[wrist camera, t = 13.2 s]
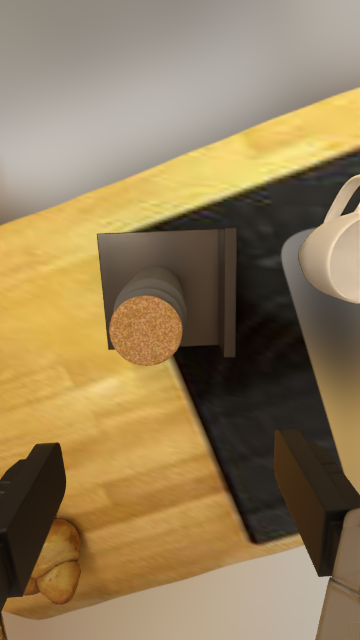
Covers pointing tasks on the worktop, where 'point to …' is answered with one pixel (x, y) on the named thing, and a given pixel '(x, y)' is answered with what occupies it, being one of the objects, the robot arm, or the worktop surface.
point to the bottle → (149, 317)
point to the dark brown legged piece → (179, 277)
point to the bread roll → (57, 564)
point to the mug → (335, 250)
